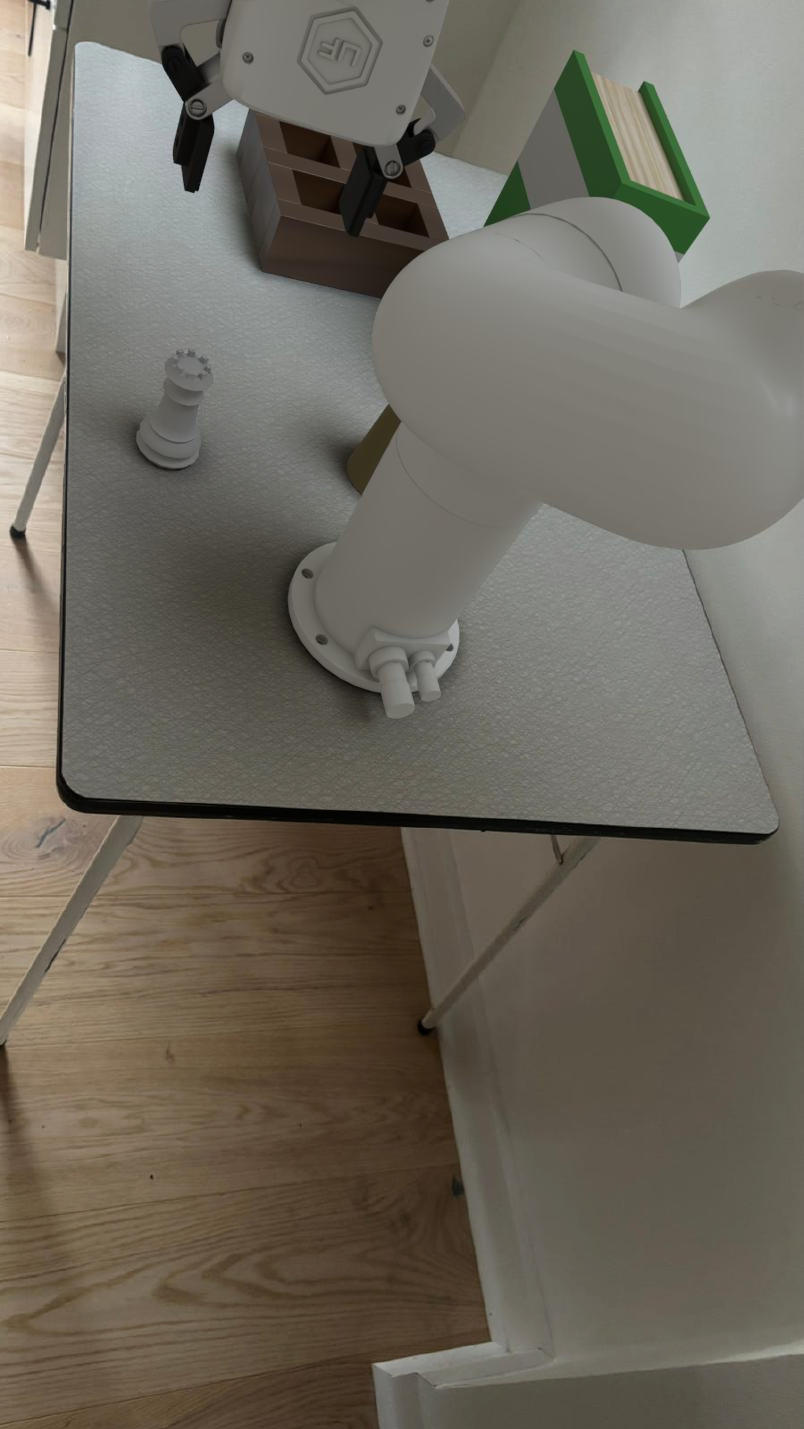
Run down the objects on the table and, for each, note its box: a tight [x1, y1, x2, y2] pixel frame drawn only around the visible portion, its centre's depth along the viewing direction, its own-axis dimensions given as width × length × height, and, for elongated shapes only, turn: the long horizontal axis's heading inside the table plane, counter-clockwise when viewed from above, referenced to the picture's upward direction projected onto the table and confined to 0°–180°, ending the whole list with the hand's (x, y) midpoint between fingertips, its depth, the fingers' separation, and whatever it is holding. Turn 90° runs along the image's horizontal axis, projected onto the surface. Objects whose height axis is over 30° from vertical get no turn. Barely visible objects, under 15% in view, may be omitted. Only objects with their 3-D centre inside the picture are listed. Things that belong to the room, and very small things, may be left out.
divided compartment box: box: [235, 108, 450, 299], centre depth 93 cm, size 17×17×6 cm
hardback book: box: [482, 49, 711, 264], centre depth 83 cm, size 18×7×24 cm, turn 6°
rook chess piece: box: [135, 347, 214, 470], centre depth 69 cm, size 4×4×8 cm
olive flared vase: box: [346, 403, 401, 495], centre depth 75 cm, size 6×6×11 cm
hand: (270, 200), depth 58 cm, fingers open, 9 cm apart
